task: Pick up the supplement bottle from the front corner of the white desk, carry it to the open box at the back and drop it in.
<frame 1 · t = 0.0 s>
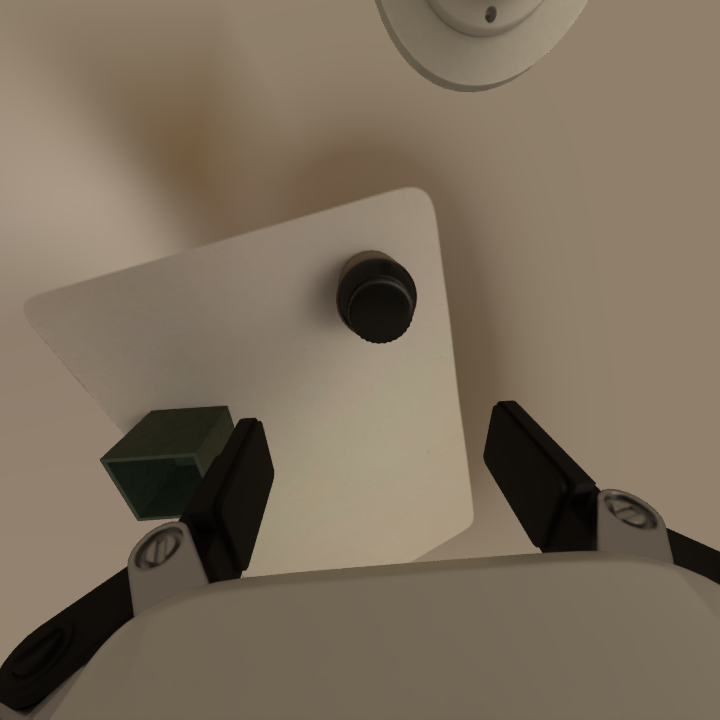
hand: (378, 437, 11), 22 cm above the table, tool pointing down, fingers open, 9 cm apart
supplement bottle: (369, 282, 30), on the table
open box: (200, 437, 38), on the table
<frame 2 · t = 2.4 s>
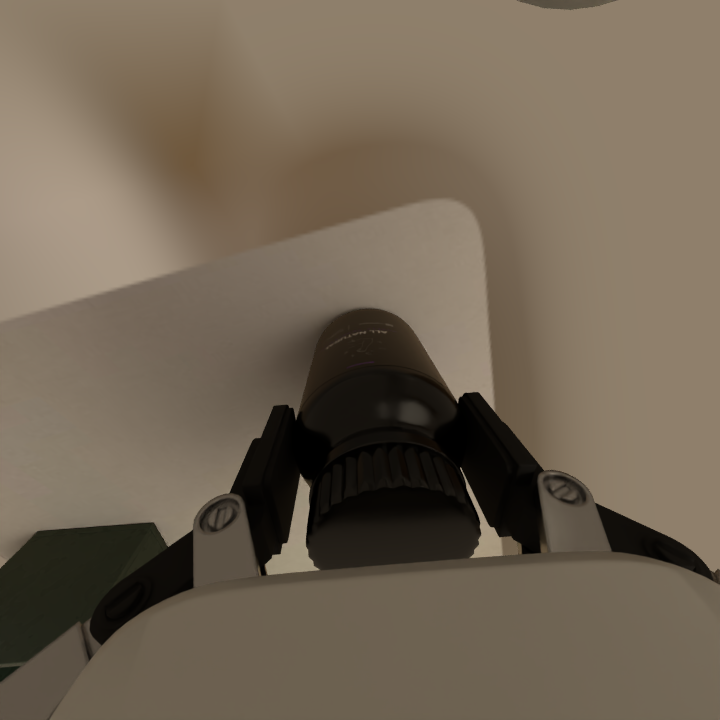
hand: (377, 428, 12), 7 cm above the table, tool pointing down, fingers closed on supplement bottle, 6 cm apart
supplement bottle: (366, 355, 18), on the table, touching gripper
open box: (120, 559, 26), on the table
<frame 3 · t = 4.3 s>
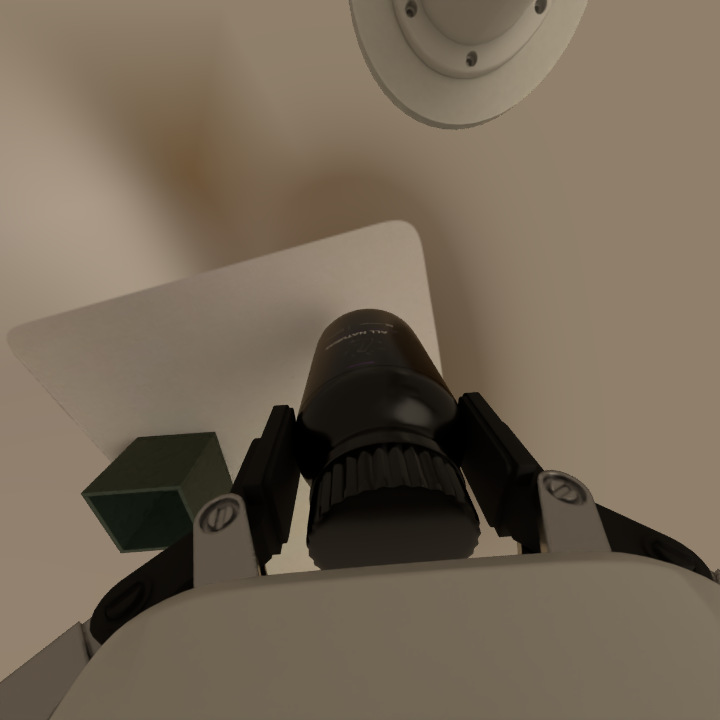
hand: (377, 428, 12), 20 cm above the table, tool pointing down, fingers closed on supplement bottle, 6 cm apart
supplement bottle: (366, 355, 18), point 13 cm above the table, touching gripper
open box: (188, 463, 38), on the table
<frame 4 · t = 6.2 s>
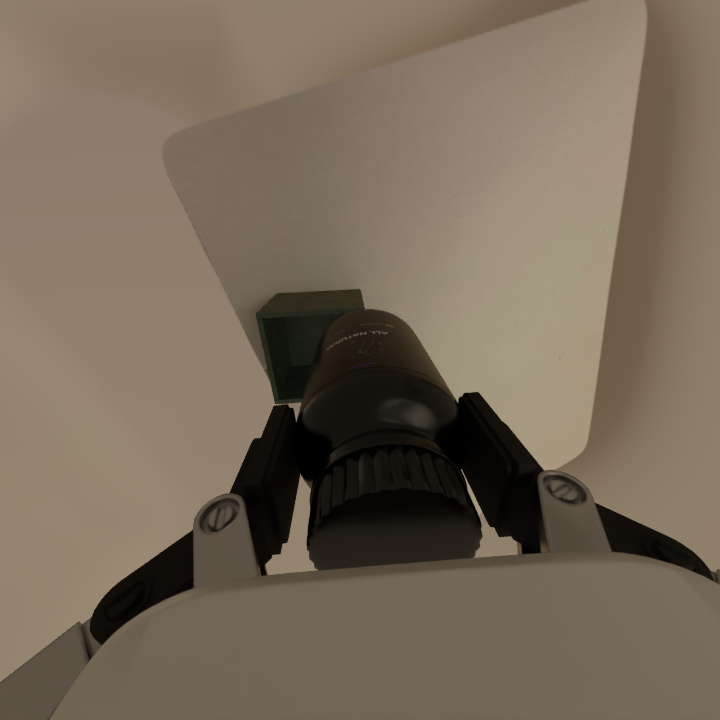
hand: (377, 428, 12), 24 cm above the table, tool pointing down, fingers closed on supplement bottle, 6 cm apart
supplement bottle: (366, 355, 18), point 17 cm above the table, touching gripper
open box: (322, 330, 35), on the table
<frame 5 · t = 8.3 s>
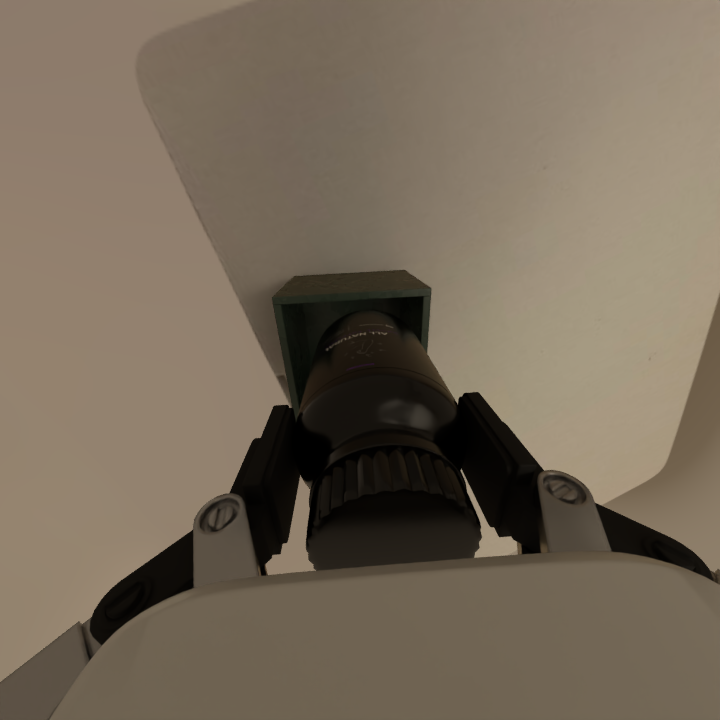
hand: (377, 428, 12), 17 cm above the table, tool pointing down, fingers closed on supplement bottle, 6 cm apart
supplement bottle: (366, 356, 18), point 9 cm above the table, touching gripper
open box: (353, 325, 27), on the table
when the fingers open (13 cm above the table, at t = 9.9 s): supplement bottle drops 5 cm, resting on open box.
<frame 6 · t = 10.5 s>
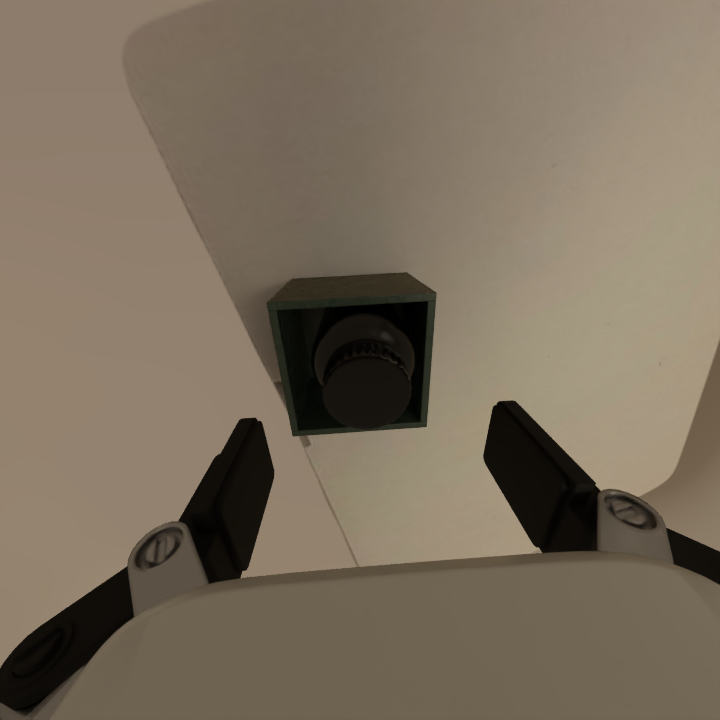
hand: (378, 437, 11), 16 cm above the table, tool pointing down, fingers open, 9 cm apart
supplement bottle: (358, 322, 25), resting on open box
open box: (353, 330, 26), on the table
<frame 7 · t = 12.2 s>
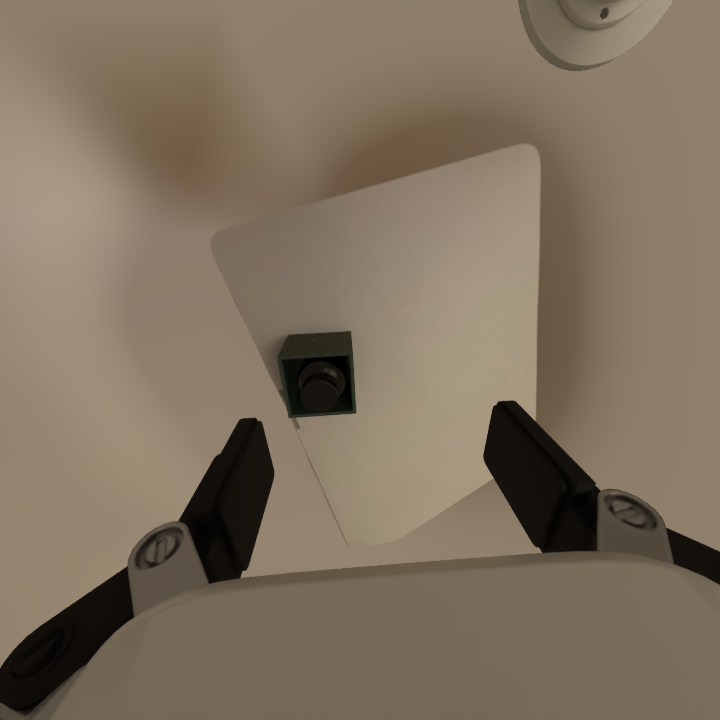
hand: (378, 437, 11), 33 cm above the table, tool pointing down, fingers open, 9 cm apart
supplement bottle: (325, 357, 46), resting on open box
open box: (322, 361, 46), on the table
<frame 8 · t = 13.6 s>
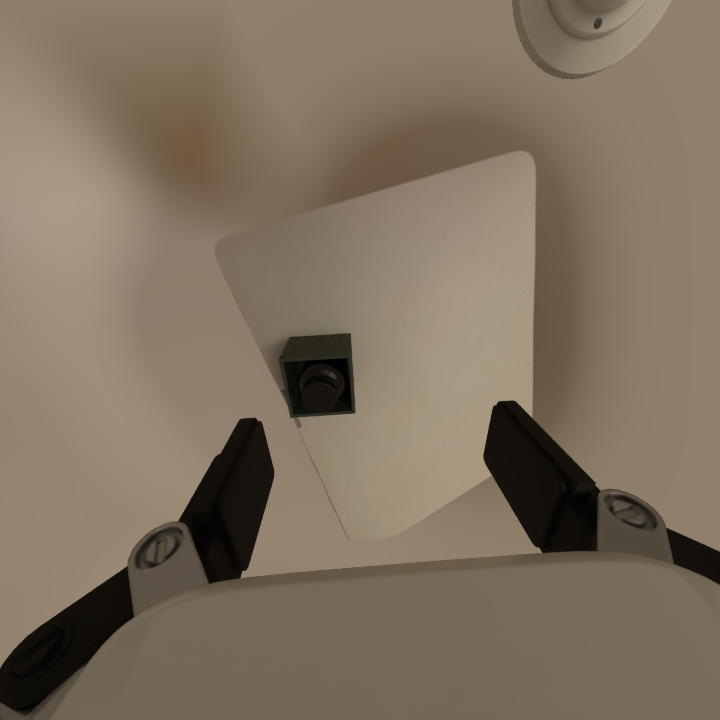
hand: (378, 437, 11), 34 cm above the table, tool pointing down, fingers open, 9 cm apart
supplement bottle: (326, 358, 47), resting on open box
open box: (323, 362, 48), on the table
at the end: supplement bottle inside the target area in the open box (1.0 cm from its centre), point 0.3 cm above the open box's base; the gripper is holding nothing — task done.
